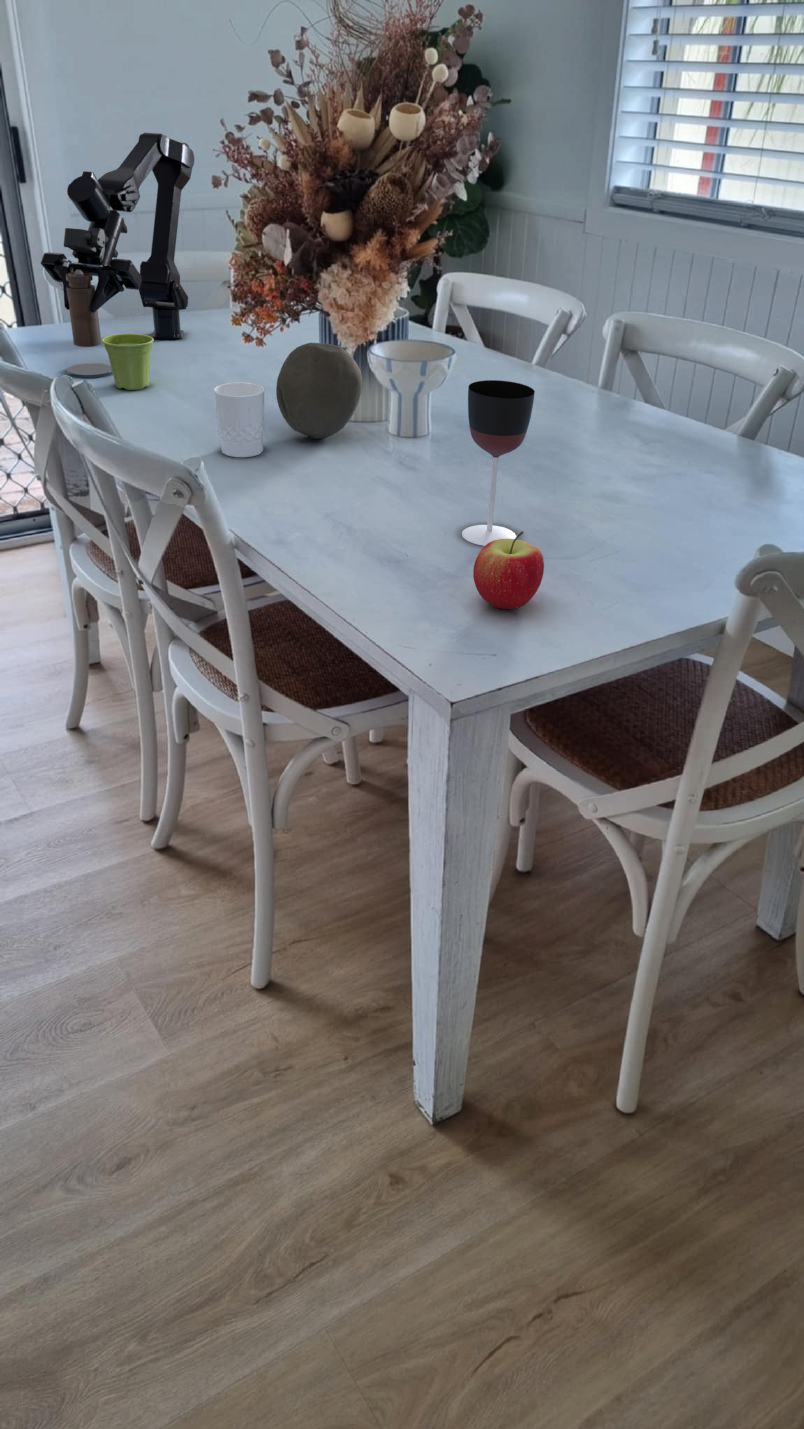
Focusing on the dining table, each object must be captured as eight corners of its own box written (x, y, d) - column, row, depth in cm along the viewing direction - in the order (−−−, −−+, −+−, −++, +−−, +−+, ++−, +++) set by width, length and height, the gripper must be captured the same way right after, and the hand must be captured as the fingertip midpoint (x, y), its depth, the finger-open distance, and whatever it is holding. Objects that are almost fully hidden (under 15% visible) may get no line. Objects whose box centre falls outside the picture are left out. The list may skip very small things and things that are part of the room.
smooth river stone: (352, 451, 174) (353, 358, 166) (268, 444, 175) (265, 351, 167) (368, 426, 186) (369, 337, 177) (289, 419, 187) (287, 331, 179)
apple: (501, 626, 123) (509, 546, 118) (456, 598, 129) (461, 521, 124) (554, 609, 128) (563, 531, 122) (508, 583, 133) (515, 507, 128)
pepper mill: (90, 339, 209) (81, 265, 202) (107, 343, 206) (98, 270, 199) (68, 343, 206) (58, 269, 198) (84, 348, 203) (75, 273, 196)
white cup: (257, 461, 168) (255, 398, 163) (210, 456, 170) (206, 393, 164) (272, 445, 175) (270, 384, 170) (227, 441, 176) (223, 380, 171)
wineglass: (480, 519, 151) (491, 376, 140) (531, 535, 146) (547, 390, 136) (446, 534, 146) (455, 388, 135) (498, 552, 141) (511, 402, 130)
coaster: (70, 366, 212) (70, 363, 212) (115, 366, 213) (115, 363, 213) (64, 378, 205) (63, 375, 204) (110, 378, 206) (110, 375, 205)
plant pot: (102, 381, 203) (96, 335, 199) (151, 377, 207) (146, 331, 202) (112, 395, 196) (107, 346, 192) (163, 390, 200) (159, 343, 195)
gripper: (38, 205, 199) (13, 279, 196) (127, 213, 195) (104, 288, 192) (66, 244, 209) (44, 314, 206) (152, 252, 205) (130, 324, 202)
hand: (79, 309), depth 201 cm, fingers closed on pepper mill, 5 cm apart
